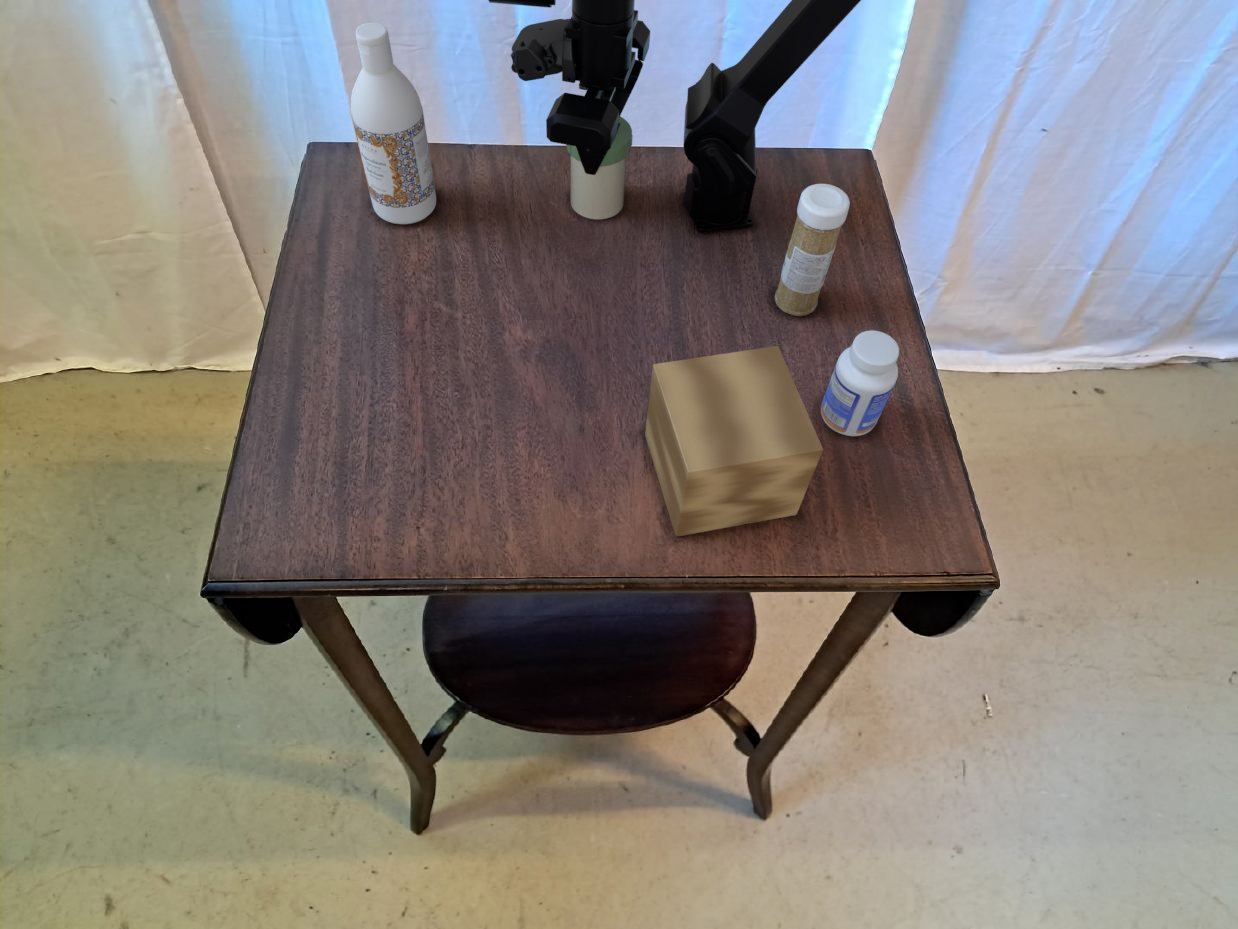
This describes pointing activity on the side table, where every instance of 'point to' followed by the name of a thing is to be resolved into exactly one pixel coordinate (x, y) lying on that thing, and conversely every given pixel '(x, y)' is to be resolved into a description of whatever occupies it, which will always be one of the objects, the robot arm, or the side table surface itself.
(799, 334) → the side table surface
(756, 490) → the oak stand
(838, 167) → the side table surface
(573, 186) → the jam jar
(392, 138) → the bath foam
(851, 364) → the pill bottle
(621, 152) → the jar lid
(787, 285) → the sprinkles bottle
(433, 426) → the side table surface
